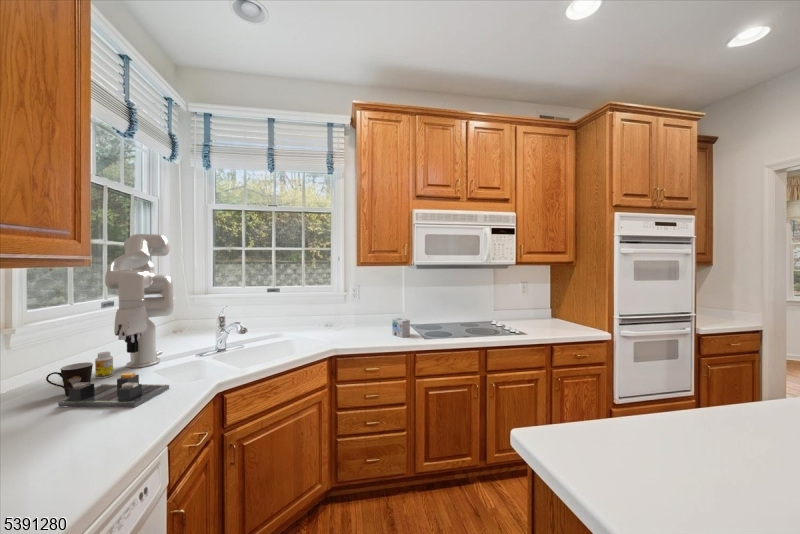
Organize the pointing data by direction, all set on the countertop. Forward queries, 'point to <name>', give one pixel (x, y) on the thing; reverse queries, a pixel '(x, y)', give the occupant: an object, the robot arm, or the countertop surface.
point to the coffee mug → (73, 375)
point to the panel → (111, 394)
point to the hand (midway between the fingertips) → (132, 352)
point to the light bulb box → (401, 327)
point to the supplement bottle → (104, 365)
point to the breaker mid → (127, 379)
